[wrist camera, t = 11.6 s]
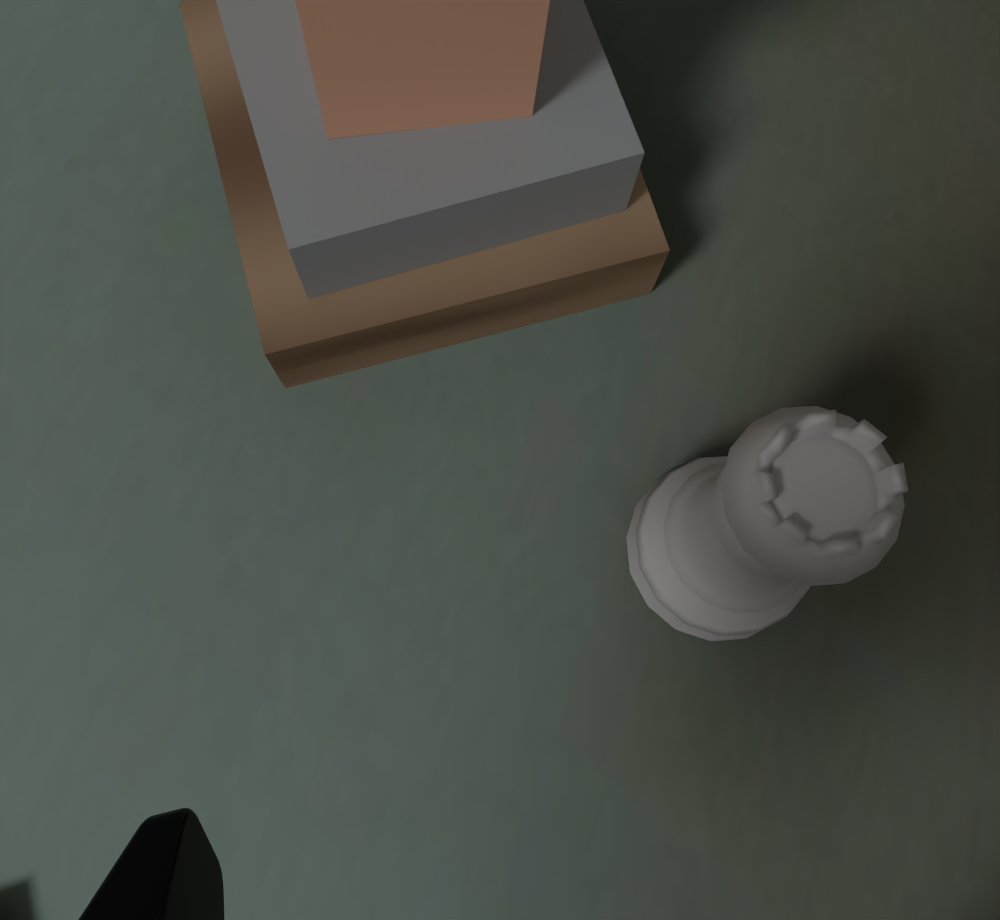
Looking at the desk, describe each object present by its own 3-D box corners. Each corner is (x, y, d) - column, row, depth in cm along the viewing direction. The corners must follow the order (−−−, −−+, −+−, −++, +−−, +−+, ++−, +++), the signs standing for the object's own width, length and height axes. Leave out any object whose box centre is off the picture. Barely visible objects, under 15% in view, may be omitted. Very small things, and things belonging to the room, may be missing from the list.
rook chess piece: (719, 432, 24) (840, 307, 16) (836, 568, 23) (1020, 505, 15) (586, 536, 23) (645, 457, 15) (703, 680, 22) (826, 674, 15)
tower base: (647, 301, 25) (669, 250, 22) (289, 394, 24) (264, 354, 21) (541, 1, 28) (550, -80, 25) (210, 77, 27) (178, 1, 24)
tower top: (625, 210, 23) (644, 152, 20) (308, 298, 22) (288, 249, 19) (523, -52, 24) (530, -133, 22) (226, 21, 24) (199, -56, 21)
